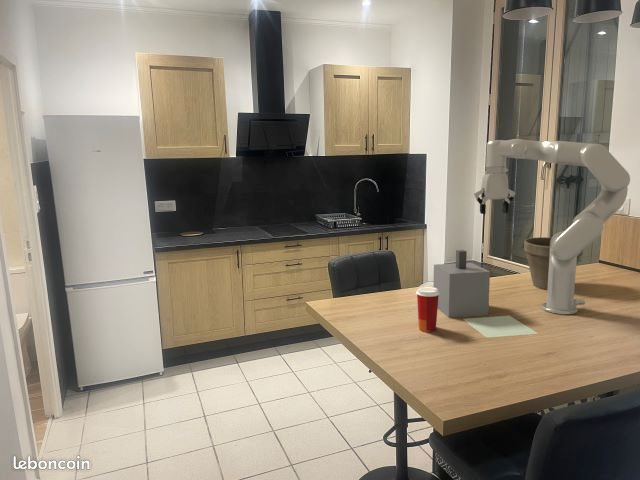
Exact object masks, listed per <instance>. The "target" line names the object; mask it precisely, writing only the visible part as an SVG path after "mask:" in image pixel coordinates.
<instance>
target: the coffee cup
mask: <svg viewBox="0 0 640 480" xmlns="http://www.w3.org/2000/svg"><path fill="white" fill-rule="evenodd" d="M415 294H416V298H417V301H416V302H417V316H418V317H417V318H418V321H417V322H418V330H419V331H421V332H423V333H432V332H435V331H436V329H437V322H438V321H437V318H438V310H439V309H438V297H439V294H440V293H439V291H438V289H437V288H434V287H432V286H422V287H421V286H420V287H418V288H417V289H416V292H415Z"/></svg>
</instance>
